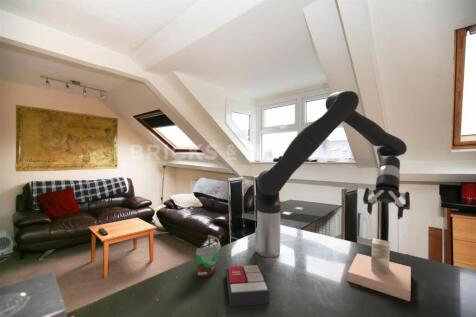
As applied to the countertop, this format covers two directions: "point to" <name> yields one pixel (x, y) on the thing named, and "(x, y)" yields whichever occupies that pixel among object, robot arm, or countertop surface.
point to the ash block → (380, 256)
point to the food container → (208, 257)
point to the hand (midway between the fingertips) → (384, 215)
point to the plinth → (381, 277)
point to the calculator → (246, 286)
